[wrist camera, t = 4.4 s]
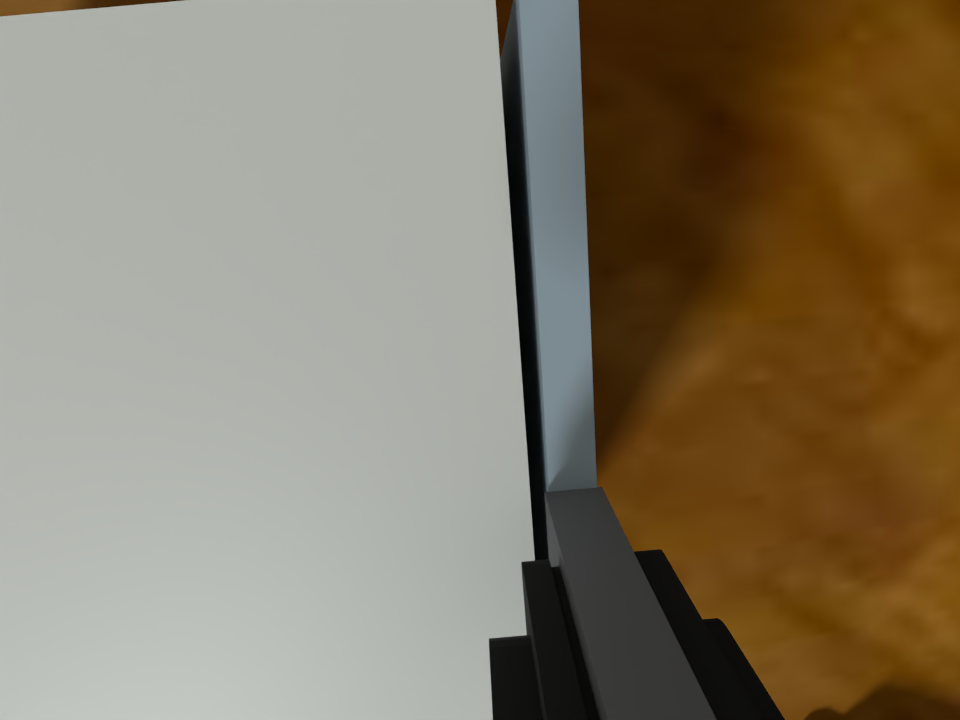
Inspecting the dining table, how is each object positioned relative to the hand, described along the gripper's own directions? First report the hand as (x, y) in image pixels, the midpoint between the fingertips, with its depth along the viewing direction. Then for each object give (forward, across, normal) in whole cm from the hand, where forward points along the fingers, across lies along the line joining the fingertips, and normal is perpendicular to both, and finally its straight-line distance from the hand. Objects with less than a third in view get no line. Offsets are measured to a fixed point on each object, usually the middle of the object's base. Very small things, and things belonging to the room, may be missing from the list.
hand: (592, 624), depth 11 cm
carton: (+16, +10, -2) cm, 19 cm away
